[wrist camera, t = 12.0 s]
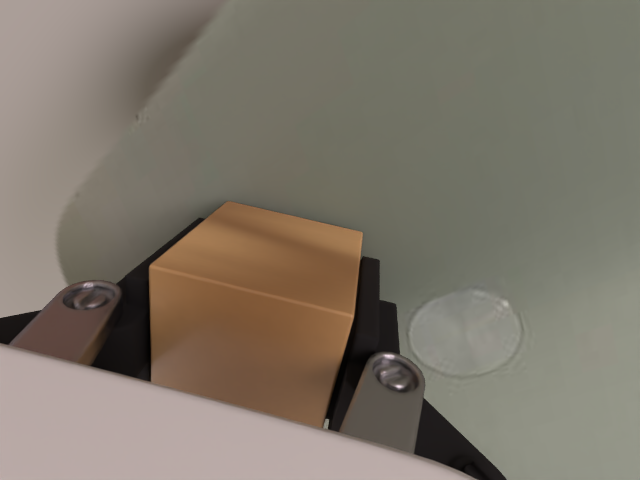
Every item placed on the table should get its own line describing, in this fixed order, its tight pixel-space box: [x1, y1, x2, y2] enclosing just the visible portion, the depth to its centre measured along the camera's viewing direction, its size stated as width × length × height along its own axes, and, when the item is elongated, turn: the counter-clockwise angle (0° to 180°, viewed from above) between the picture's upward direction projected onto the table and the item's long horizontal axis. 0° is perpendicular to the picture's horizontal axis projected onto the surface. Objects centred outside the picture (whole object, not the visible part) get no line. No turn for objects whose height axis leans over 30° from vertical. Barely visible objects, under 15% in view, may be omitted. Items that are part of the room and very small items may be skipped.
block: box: [149, 201, 363, 428], centre depth 10 cm, size 4×4×4 cm
